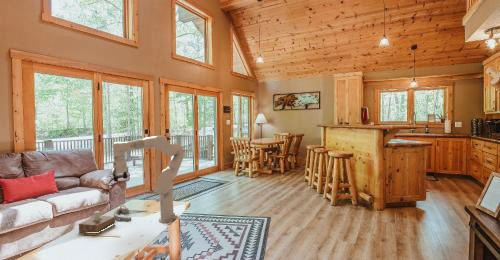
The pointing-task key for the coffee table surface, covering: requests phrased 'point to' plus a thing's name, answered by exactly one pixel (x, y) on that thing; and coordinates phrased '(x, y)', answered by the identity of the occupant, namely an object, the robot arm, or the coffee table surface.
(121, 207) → the faucet
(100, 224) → the socket block
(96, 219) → the peg
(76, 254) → the coffee table surface
